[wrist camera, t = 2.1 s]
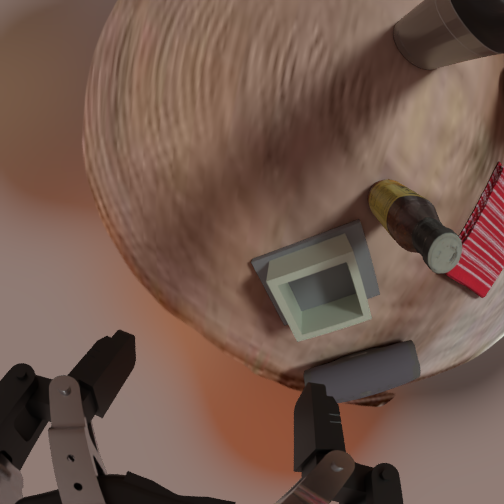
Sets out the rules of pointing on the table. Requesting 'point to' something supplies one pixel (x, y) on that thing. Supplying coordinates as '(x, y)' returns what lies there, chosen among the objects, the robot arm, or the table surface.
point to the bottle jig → (321, 281)
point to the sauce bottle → (415, 225)
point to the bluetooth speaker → (367, 371)
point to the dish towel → (483, 239)
